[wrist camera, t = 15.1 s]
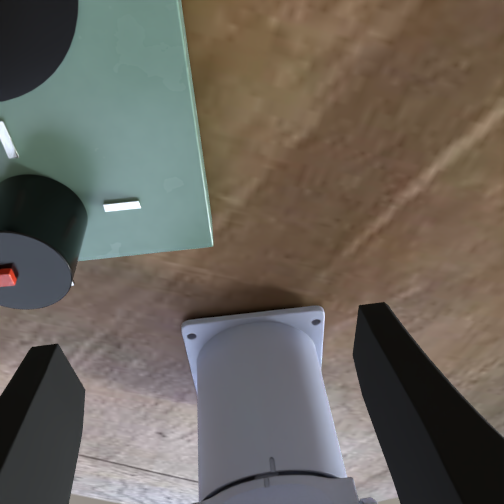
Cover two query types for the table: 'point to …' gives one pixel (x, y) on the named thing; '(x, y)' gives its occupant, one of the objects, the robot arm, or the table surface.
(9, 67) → the ring
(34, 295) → the dial
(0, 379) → the table surface
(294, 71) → the table surface
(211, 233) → the hotplate
